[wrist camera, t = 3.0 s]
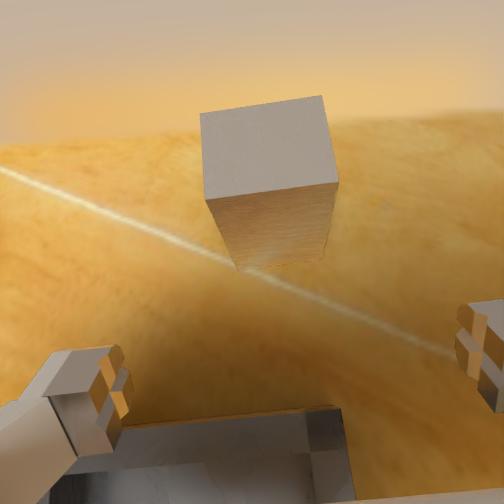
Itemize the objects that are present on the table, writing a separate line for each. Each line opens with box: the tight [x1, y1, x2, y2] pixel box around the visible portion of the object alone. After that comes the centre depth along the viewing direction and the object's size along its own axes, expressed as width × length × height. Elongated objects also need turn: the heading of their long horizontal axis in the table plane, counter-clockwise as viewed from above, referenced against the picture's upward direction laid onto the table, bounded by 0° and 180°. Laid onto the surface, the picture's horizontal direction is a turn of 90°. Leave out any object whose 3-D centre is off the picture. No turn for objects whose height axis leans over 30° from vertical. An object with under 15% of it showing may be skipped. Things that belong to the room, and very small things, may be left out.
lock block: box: [200, 95, 339, 270], centre depth 19 cm, size 4×5×9 cm
